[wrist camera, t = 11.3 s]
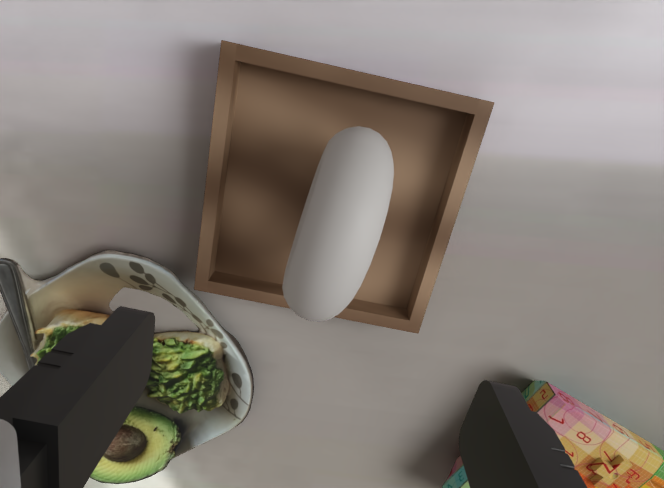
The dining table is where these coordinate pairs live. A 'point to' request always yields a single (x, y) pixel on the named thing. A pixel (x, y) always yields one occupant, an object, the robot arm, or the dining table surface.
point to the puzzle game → (589, 444)
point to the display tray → (300, 167)
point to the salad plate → (167, 358)
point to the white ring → (339, 224)
